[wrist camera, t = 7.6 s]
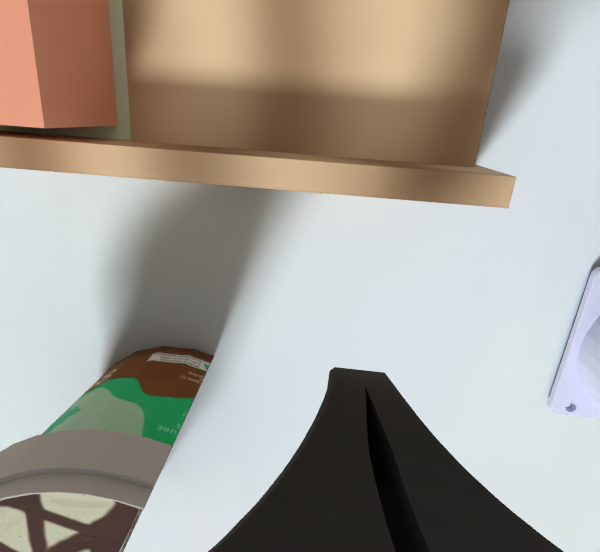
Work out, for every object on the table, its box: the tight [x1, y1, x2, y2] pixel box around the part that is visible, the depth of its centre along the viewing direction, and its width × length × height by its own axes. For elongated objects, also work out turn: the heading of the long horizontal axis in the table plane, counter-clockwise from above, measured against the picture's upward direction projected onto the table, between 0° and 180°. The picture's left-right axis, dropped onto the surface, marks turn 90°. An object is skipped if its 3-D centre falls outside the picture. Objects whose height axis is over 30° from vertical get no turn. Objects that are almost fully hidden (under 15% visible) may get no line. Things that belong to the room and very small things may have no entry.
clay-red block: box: [0, 0, 118, 128], centre depth 13 cm, size 4×4×4 cm
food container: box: [0, 346, 214, 552], centre depth 19 cm, size 12×6×10 cm, turn 155°
